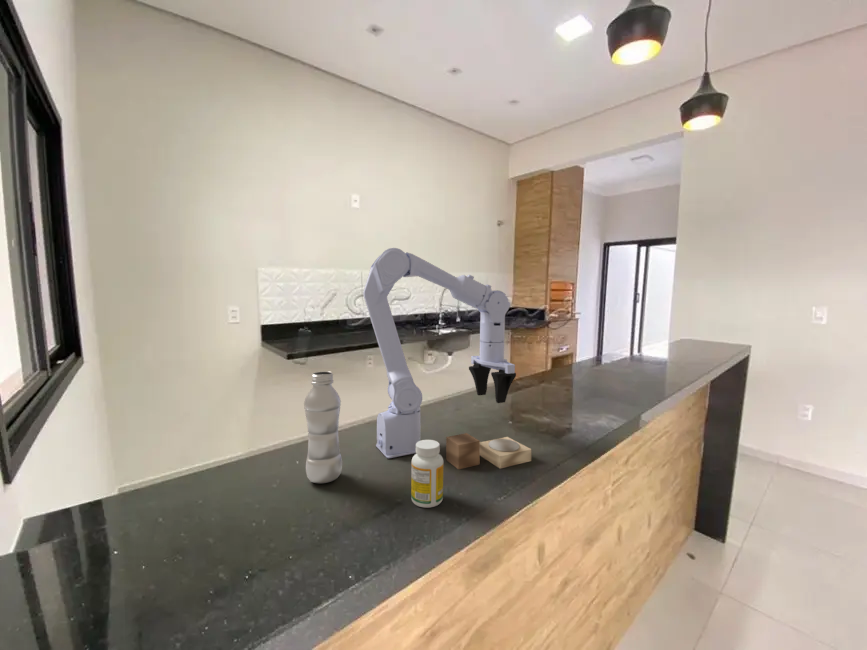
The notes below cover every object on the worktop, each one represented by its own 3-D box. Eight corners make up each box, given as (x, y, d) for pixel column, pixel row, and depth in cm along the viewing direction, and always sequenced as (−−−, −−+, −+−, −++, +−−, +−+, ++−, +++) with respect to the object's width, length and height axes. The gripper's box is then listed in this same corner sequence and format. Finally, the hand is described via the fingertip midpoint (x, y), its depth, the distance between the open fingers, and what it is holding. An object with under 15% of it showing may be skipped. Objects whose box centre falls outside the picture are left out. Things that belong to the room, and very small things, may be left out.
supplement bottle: (417, 511, 60) (417, 452, 59) (406, 495, 65) (406, 440, 64) (448, 504, 62) (448, 447, 61) (435, 489, 67) (436, 436, 66)
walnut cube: (458, 469, 75) (458, 445, 74) (446, 460, 79) (446, 436, 79) (479, 464, 77) (479, 440, 77) (466, 455, 81) (466, 433, 81)
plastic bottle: (350, 476, 71) (348, 372, 70) (322, 492, 66) (320, 378, 64) (325, 468, 75) (324, 368, 73) (297, 482, 69) (295, 374, 68)
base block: (499, 468, 75) (500, 454, 75) (477, 453, 82) (477, 441, 82) (531, 460, 79) (531, 447, 78) (507, 447, 86) (507, 435, 85)
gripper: (526, 344, 84) (524, 403, 85) (487, 338, 97) (486, 390, 98) (500, 345, 81) (499, 407, 82) (464, 339, 94) (463, 392, 95)
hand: (490, 398), depth 90 cm, fingers open, 7 cm apart
